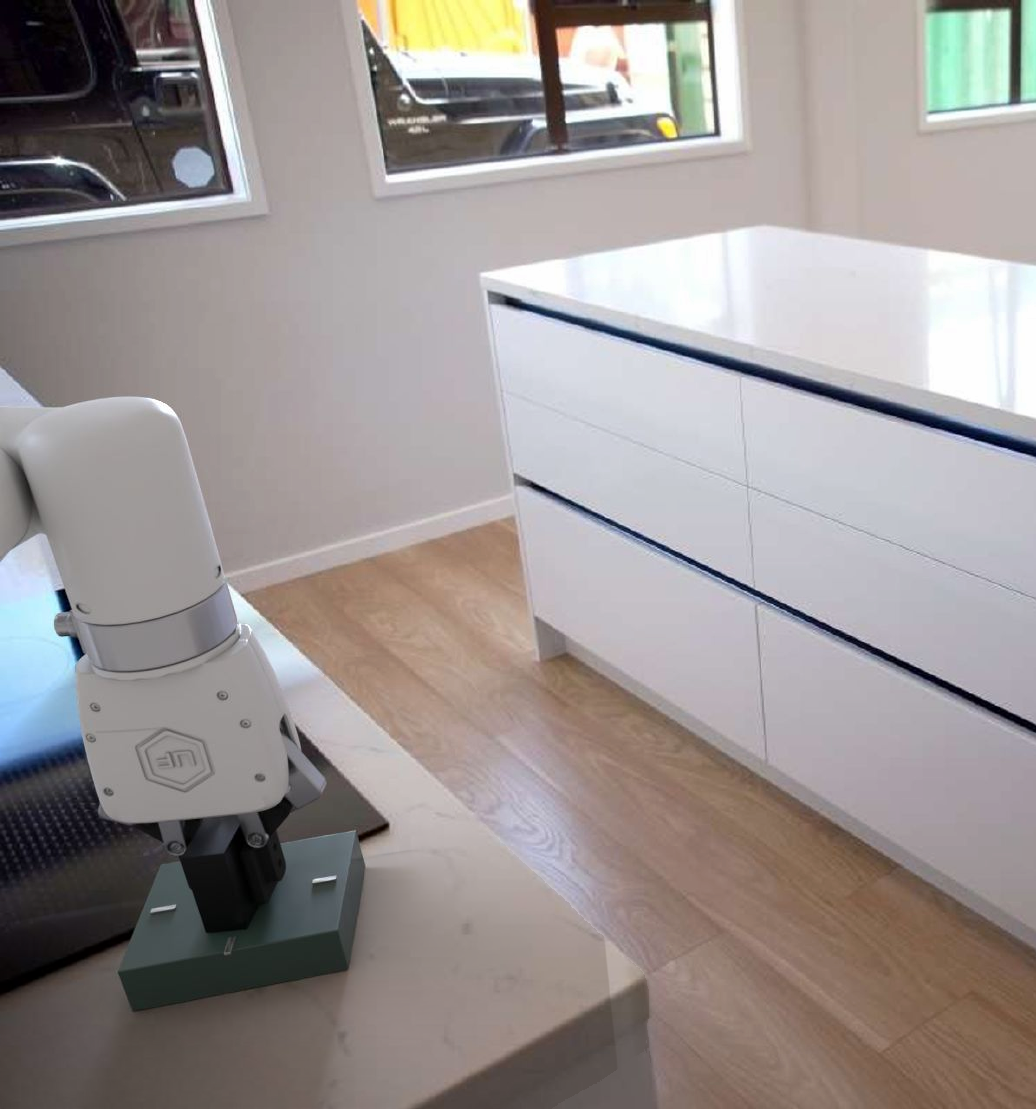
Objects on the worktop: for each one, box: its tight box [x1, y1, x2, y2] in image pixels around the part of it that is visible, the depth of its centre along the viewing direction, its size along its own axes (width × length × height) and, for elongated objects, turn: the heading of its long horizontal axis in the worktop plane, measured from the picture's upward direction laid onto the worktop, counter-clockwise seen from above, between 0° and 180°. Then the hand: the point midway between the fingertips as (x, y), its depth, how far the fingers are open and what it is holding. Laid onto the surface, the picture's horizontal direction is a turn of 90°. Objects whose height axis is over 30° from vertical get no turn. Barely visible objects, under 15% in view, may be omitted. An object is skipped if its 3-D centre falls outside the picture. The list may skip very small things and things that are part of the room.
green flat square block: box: [117, 830, 366, 1012], centre depth 78 cm, size 12×11×3 cm
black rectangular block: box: [181, 815, 259, 933], centre depth 76 cm, size 6×2×6 cm, turn 5°
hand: (242, 889), depth 77 cm, fingers closed on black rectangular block, 2 cm apart
